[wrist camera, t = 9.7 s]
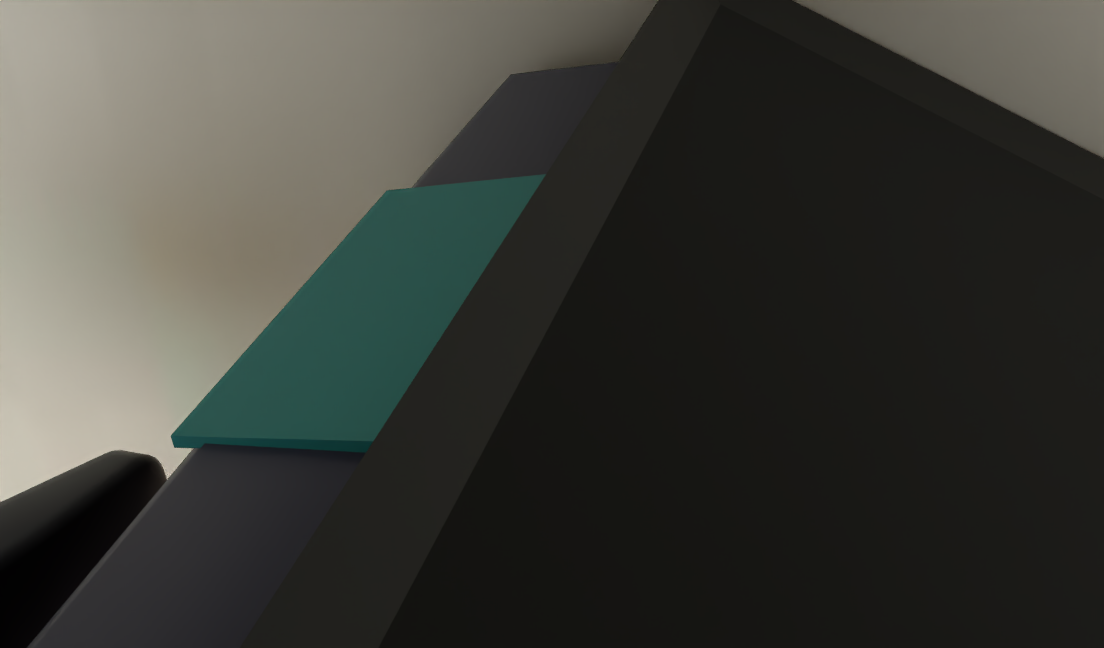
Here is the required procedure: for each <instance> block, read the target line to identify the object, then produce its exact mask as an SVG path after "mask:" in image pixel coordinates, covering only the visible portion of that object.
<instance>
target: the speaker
mask: <svg viewBox="0 0 1104 648" xmlns="http://www.w3.org/2000/svg"><path fill="white" fill-rule="evenodd" d="M171 438H172V441H173V445H174V448H194V449H193V450H192V451H191V452H190V453H189V454H188V456H187V457H186V458H185V459H184V460H183V462H182V463H181V464H180V465H179V466H178V468H177V469H176V470H175V471H174V472H173V474H172V475H171V476H170V477H169V478H168V480H167V481H166V482H165V483H164V484H163V486H162V487H161V488H160V489H159V490H158V492H157V493H156V494H155V495H154V496H153V497H152V499H151V500H150V501H149V502H148V503H147V505H146V506H145V507H144V508H143V509H142V511H141V512H140V513H139V514H138V515H137V517H136V518H135V519H134V520H133V521H132V523H131V524H130V525H129V526H128V527H127V529H126V530H125V531H124V532H123V533H122V535H121V536H120V537H119V538H118V539H117V540H116V542H115V543H114V544H113V545H112V546H111V548H110V549H109V550H108V551H107V552H106V554H105V555H104V556H103V557H102V558H101V560H100V561H99V562H98V563H97V564H96V566H95V567H94V568H93V569H92V570H91V572H90V573H89V574H88V575H87V576H86V578H85V579H84V580H83V581H82V582H81V583H80V585H79V586H78V587H77V588H76V589H75V591H74V592H73V593H72V594H71V595H70V597H69V598H68V599H67V600H66V601H65V603H64V604H63V605H62V606H61V607H60V609H59V610H58V611H57V612H56V613H55V615H54V616H53V617H52V618H51V619H50V621H49V622H48V623H47V624H46V625H45V626H44V628H43V629H42V630H41V631H40V632H39V634H38V635H37V636H36V637H35V638H34V640H33V641H32V642H31V643H30V644H29V646H28V647H27V648H1104V159H1103V158H1101V157H1099V156H1097V155H1095V154H1093V153H1091V152H1089V151H1087V150H1085V149H1083V148H1081V147H1079V146H1077V145H1075V144H1073V143H1071V142H1069V141H1067V140H1065V139H1063V138H1061V137H1059V136H1057V135H1055V134H1053V133H1051V132H1050V131H1048V130H1046V129H1044V128H1042V127H1040V126H1038V125H1036V124H1034V123H1032V122H1030V121H1028V120H1026V119H1024V118H1022V117H1020V116H1018V115H1016V114H1014V113H1012V112H1010V111H1008V110H1006V109H1004V108H1002V107H1000V106H998V105H996V104H994V103H993V102H991V101H989V100H987V99H985V98H983V97H981V96H979V95H977V94H975V93H973V92H971V91H969V90H967V89H965V88H963V87H961V86H959V85H957V84H955V83H953V82H951V81H949V80H947V79H945V78H943V77H941V76H939V75H938V74H936V73H934V72H932V71H930V70H928V69H926V68H924V67H922V66H920V65H918V64H916V63H914V62H912V61H910V60H908V59H906V58H904V57H902V56H900V55H898V54H896V53H894V52H892V51H890V50H888V49H886V48H884V47H882V46H881V45H879V44H877V43H875V42H873V41H871V40H869V39H867V38H865V37H863V36H861V35H859V34H857V33H855V32H853V31H851V30H849V29H847V28H845V27H843V26H841V25H839V24H837V23H835V22H833V21H831V20H829V19H827V18H825V17H824V16H822V15H820V14H818V13H816V12H814V11H812V10H810V9H808V8H806V7H804V6H802V5H800V4H798V3H796V2H794V1H792V0H659V1H658V2H657V4H656V5H655V7H654V8H653V10H652V11H651V13H650V15H649V16H648V18H647V19H646V21H645V22H644V24H643V25H642V27H641V28H640V30H639V32H638V33H637V35H636V36H635V38H634V39H633V41H632V42H631V44H630V45H629V47H628V49H627V50H626V52H625V53H624V55H623V56H622V58H621V59H620V61H619V62H614V63H605V64H597V65H588V66H580V67H571V68H563V69H554V70H546V71H537V72H528V73H520V74H511V75H510V76H509V77H508V78H507V79H506V81H505V82H504V83H503V84H502V85H501V86H500V87H499V89H498V90H497V91H496V92H495V93H494V94H493V95H492V96H491V98H490V99H489V100H488V101H487V102H486V103H485V104H484V106H483V107H482V108H481V109H480V110H479V111H478V112H477V113H476V115H475V116H474V117H473V118H472V119H471V120H470V121H469V123H468V124H467V125H466V126H465V127H464V128H463V129H462V131H461V132H460V133H459V134H458V135H457V136H456V137H455V138H454V140H453V141H452V142H451V143H450V144H449V145H448V146H447V148H446V149H445V150H444V151H443V152H442V153H441V154H440V156H439V157H438V158H437V159H436V160H435V161H434V162H433V163H432V165H431V166H430V167H429V168H428V169H427V170H426V171H425V173H424V174H423V175H422V176H421V177H420V179H419V180H418V181H417V182H416V183H415V184H414V186H413V187H412V188H406V189H396V190H387V191H386V192H385V193H384V194H383V195H382V197H381V198H380V199H379V200H378V201H377V202H376V203H375V205H374V206H373V207H372V208H371V209H370V210H369V211H368V212H367V214H366V215H365V216H364V217H363V218H362V219H361V220H360V222H359V223H358V224H357V225H356V226H355V227H354V228H353V230H352V231H351V232H350V233H349V234H348V235H347V236H346V237H345V239H344V240H343V241H342V242H341V243H340V244H339V245H338V247H337V248H336V249H335V250H334V251H333V252H332V253H331V255H330V256H329V257H328V258H327V259H326V260H325V261H324V262H323V264H322V265H321V266H320V267H319V268H318V269H317V270H316V272H315V273H314V274H313V275H312V276H311V277H310V278H309V280H308V281H307V282H306V283H305V284H304V285H303V286H302V287H301V289H300V290H299V291H298V292H297V293H296V294H295V295H294V297H293V298H292V299H291V300H290V301H289V302H288V303H287V304H286V306H285V307H284V308H283V309H282V310H281V311H280V312H279V314H278V315H277V316H276V317H275V318H274V319H273V320H272V322H271V323H270V324H269V325H268V326H267V327H266V328H265V329H264V331H263V332H262V333H261V334H260V335H259V336H258V337H257V339H256V340H255V341H254V342H253V343H252V344H251V345H250V347H249V348H248V349H247V350H246V351H245V352H244V353H243V354H242V356H241V357H240V358H239V359H238V360H237V361H236V362H235V364H234V365H233V366H232V367H231V368H230V369H229V370H228V372H227V373H226V374H225V375H224V376H223V377H222V378H221V379H220V381H219V382H218V383H217V384H216V385H215V386H214V387H213V389H212V390H211V391H210V392H209V393H208V394H207V395H206V396H205V398H204V399H203V400H202V401H201V402H200V403H199V404H198V406H197V407H196V408H195V409H194V410H193V411H192V412H191V414H190V415H189V416H188V417H187V418H186V419H185V420H184V421H183V423H182V424H181V425H180V426H179V427H178V428H177V429H176V431H175V432H174V433H173V434H172V435H171Z"/></svg>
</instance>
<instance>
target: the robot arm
mask: <svg viewBox="0 0 1104 648" xmlns="http://www.w3.org/2000/svg"><path fill="white" fill-rule="evenodd" d="M166 481H167V478H166V475H165V472H164V469H163V467H162V465H161V463H160V462H159V461H158V460H157V459H156V458H155V457H152V456H150V455H146V454H140V453H134V452H128V451H122V450H120V451H111V452H108V453H105V454H103V455H101V456H99V457H97V458H95V459H93V460H90V461H88V462H86V463H84V464H82V465H80V466H78V467H75V468H73V469H71V470H69V471H67V472H65V473H62V474H60V475H58V476H56V477H54V478H52V479H50V480H47V481H45V482H43V483H41V484H39V485H37V486H35V487H32V488H30V489H28V490H26V491H24V492H22V493H20V494H17V495H15V496H13V497H11V498H9V499H7V500H4V501H2V502H0V648H27V647H28V646H29V644H30V643H31V642H32V641H33V640H34V638H35V637H36V636H37V635H38V634H39V632H40V631H41V630H42V629H43V628H44V626H45V625H46V624H47V623H48V622H49V621H50V619H51V618H52V617H53V616H54V615H55V613H56V612H57V611H58V610H59V609H60V607H61V606H62V605H63V604H64V603H65V601H66V600H67V599H68V598H69V597H70V595H71V594H72V593H73V592H74V591H75V589H76V588H77V587H78V586H79V585H80V583H81V582H82V581H83V580H84V579H85V578H86V576H87V575H88V574H89V573H90V572H91V570H92V569H93V568H94V567H95V566H96V564H97V563H98V562H99V561H100V560H101V558H102V557H103V556H104V555H105V554H106V552H107V551H108V550H109V549H110V548H111V546H112V545H113V544H114V543H115V542H116V540H117V539H118V538H119V537H120V536H121V535H122V533H123V532H124V531H125V530H126V529H127V527H128V526H129V525H130V524H131V523H132V521H133V520H134V519H135V518H136V517H137V515H138V514H139V513H140V512H141V511H142V509H143V508H144V507H145V506H146V505H147V503H148V502H149V501H150V500H151V499H152V497H153V496H154V495H155V494H156V493H157V492H158V490H159V489H160V488H161V487H162V486H163V484H164V483H165V482H166Z"/></svg>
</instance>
